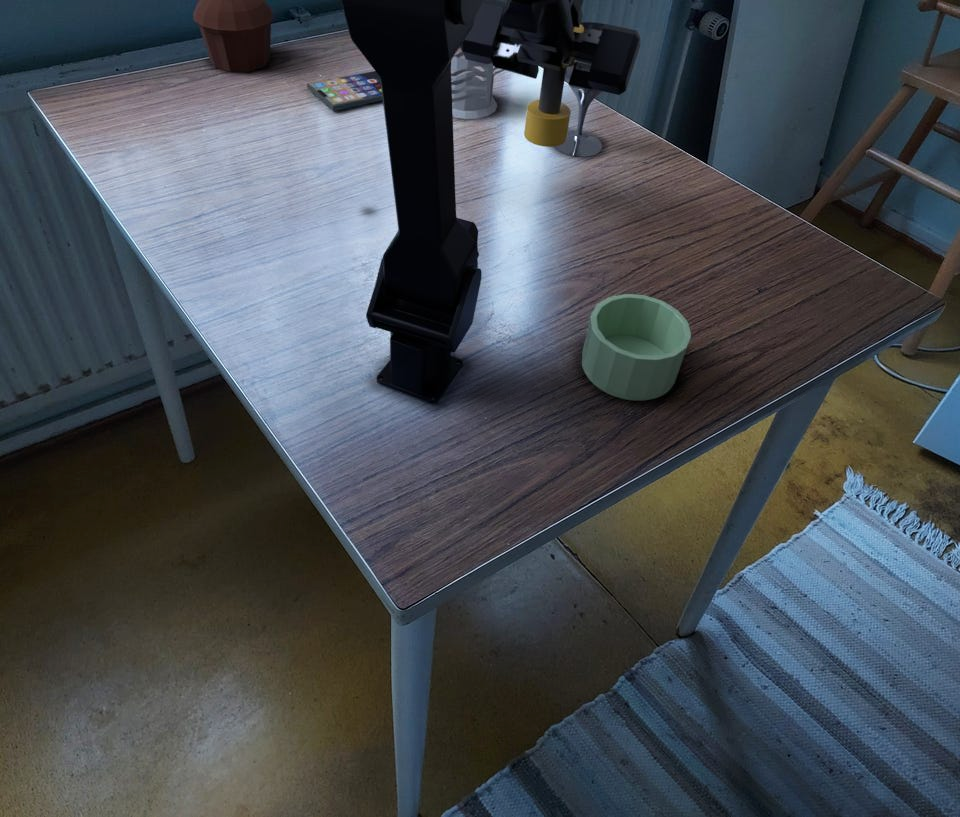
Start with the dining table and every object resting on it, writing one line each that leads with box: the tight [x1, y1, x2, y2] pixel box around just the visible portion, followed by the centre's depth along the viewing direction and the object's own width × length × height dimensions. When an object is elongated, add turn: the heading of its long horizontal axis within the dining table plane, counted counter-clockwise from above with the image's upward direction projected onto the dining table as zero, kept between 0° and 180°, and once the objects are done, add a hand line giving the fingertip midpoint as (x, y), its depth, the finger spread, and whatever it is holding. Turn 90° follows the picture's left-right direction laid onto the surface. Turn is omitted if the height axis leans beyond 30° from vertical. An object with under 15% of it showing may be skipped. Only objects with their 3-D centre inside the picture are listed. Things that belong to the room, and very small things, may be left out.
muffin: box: [192, 0, 275, 73], centre depth 118 cm, size 12×11×10 cm
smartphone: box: [306, 70, 383, 111], centre depth 117 cm, size 8×15×1 cm, turn 125°
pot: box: [581, 293, 692, 402], centre depth 77 cm, size 10×10×6 cm
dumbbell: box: [523, 24, 584, 148], centre depth 91 cm, size 5×5×13 cm
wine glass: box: [554, 21, 607, 158], centre depth 105 cm, size 8×8×15 cm
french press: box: [451, 47, 505, 120], centre depth 108 cm, size 10×12×25 cm
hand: (556, 79), depth 92 cm, fingers closed on dumbbell, 5 cm apart
